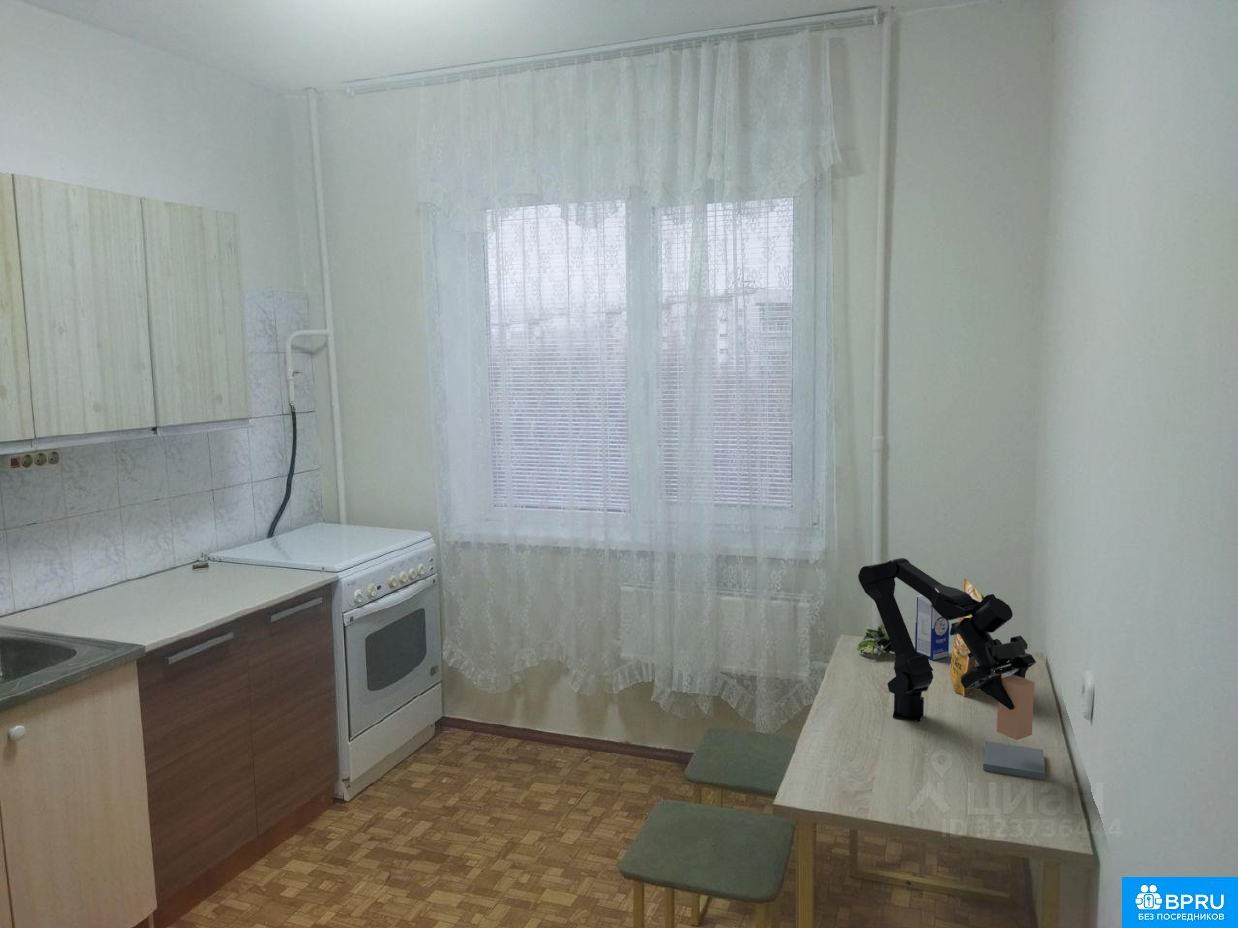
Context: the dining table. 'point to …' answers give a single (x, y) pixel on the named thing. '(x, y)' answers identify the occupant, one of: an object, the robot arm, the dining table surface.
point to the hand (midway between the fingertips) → (1021, 706)
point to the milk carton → (930, 631)
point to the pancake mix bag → (963, 648)
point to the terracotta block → (1016, 708)
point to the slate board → (1014, 760)
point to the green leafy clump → (876, 641)
